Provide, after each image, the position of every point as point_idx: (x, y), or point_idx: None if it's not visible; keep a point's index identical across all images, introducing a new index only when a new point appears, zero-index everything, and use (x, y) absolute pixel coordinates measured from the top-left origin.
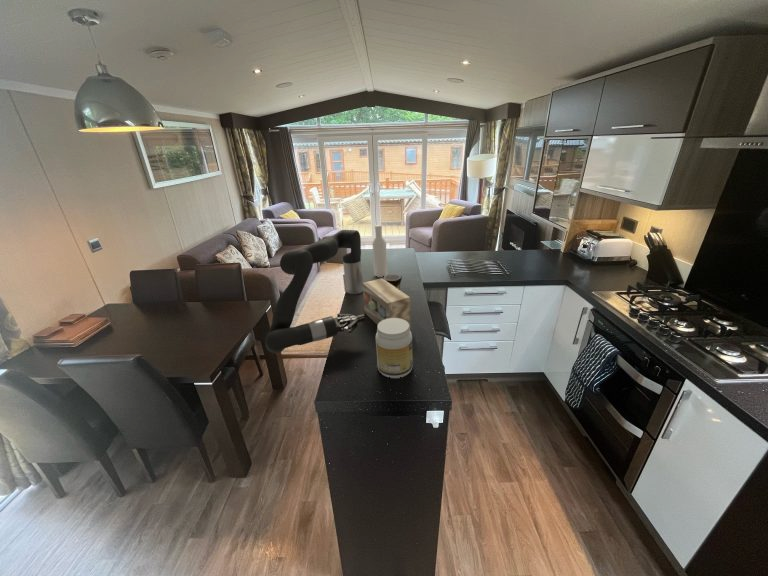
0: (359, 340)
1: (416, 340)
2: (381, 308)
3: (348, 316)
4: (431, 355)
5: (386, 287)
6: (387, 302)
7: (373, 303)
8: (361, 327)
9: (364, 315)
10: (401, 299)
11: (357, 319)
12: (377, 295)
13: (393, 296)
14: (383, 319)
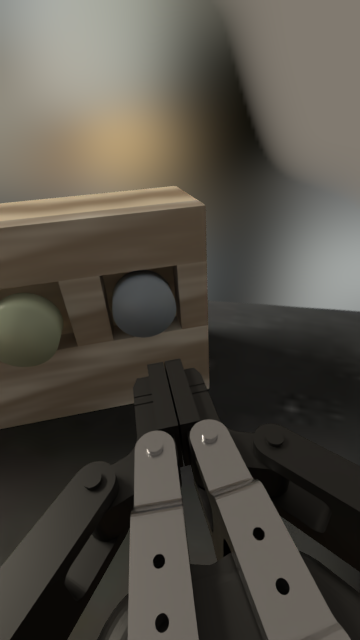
0: (198, 554)
1: (259, 326)
2: (143, 280)
3: (156, 511)
4: (351, 314)
5: (2, 209)
6: (193, 205)
7: (37, 304)
8: (42, 502)
9: (178, 360)
10: (183, 192)
11: (222, 425)
12: (56, 223)
13: (133, 199)
14: (151, 342)
